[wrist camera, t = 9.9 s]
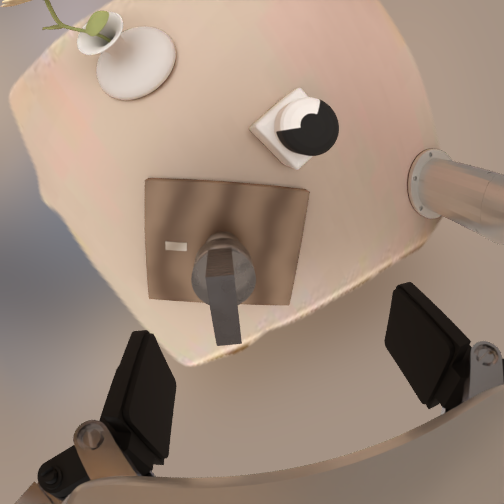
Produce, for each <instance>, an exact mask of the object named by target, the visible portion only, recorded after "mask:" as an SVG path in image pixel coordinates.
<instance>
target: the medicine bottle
mask: <svg viewBox="0 0 504 504" xmlns="http://www.w3.org/2000/svg"><path fill="white" fill-rule="evenodd" d="M249 130H250V131H251V132H252V133H253V134H254V135H255V136H256V137H257V138H258V139H259V140H260V141H261V142H262V143H263V144H264V145H265V146H266V147H267V148H268V149H269V150H270V151H271V152H272V153H273V154H274V155H275V156H276V157H277V158H278V159H279V161H280V162H281V163H282V164H284V165H286V166H289V167H291V168H294V169H296V170H298V169H300V168H301V167H302V166H303V165H304V164H305V163H306V162H307V161H308V160H309V159H310V158H311V157H312V156H316V155H320V154H323V153H325V152H327V151H328V150H329V149H330V148H331V147H332V146H333V145H334V143H335V142H336V140H337V137H338V133H339V124H338V120H337V117H336V115H335V113H334V111H333V110H332V108H331V107H330V106H329V105H328V104H326V103H325V102H323V101H322V100H320V99H317V98H313V97H309V96H308V95H307V94H306V93H305V92H304V91H303V90H302V89H301V88H296V89H295V90H293V91H292V92H290V93H289V94H287V95H286V96H284V97H283V98H282V99H281V100H280V101H278V102H277V103H276V104H275V105H274V106H273V107H272V108H270V109H269V110H268V111H267V112H266V113H265V114H264V115H263V116H261V117H260V118H259V119H258V120H257V121H256V122H255V123H254V124H253V125H251V126H250V128H249Z"/></svg>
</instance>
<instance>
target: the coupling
mask: <svg viewBox="0 0 504 504" xmlns="http://www.w3.org/2000/svg"><path fill="white" fill-rule="evenodd" d="M191 283H192V287H193V290H194V292H195V294H196V295H197V296H198V298H199V299H201V300H202V301H203V302H204V303H206V304H208V305H210V310H211V316H212V321H213V327H214V332H215V338H216V343H217V346H221V345H232V344H242V342H241V333H240V324H239V315H238V306H237V305H239V304H241V303H243V302H244V301H245V300H247V299H248V298H249V296H250V295H251V294H252V292H253V290H254V288H255V284H256V275H255V271H254V267H253V263H252V259H251V255H250V253H249V251H248V250H247V249H246V247H245V246H244V245H242V244H241V243H240V242H238V241H236V240H233V239H230V238H217V239H213V240H211V241H208V242H207V243H205V244H204V245H203V246H202V247H201V248H200V249H199V250H198V252H197V254H196V257H195V261H194V266H193V271H192V276H191Z"/></svg>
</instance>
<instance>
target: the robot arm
mask: <svg viewBox="0 0 504 504" xmlns="http://www.w3.org/2000/svg"><path fill="white" fill-rule="evenodd" d="M408 193H409V198H410V201H411V204H412V206H413V207H414V209H415V210H416V211H417V213H419V214H420V215H422V216H424V217H426V218H429V219H435V218H438V217H440V216H444V217H446V218H448V219H450V220H452V221H454V222H456V223H458V224H460V225H462V226H464V227H466V228H468V229H470V230H472V231H474V232H476V233H478V234H479V235H481V236H483V237H485V238H487V239H488V240H490V241H492V242H494V243H497V244H502V245H504V175H503V174H500V173H496V172H493V171H489V170H485V169H482V168H478V167H474V166H471V165H466V164H462V163H458V162H454V161H452V160H451V158H450V157H449V156H448V155H447V154H446V153H445V152H443V151H442V150H439V149H427V150H425V151H423V152H422V153H420V154H419V155H418V156H417V158H416V159H415V160H414V162H413V164H412V166H411V169H410V173H409V177H408ZM470 342H471V341H470V340H469V339H468V338H467V337H466V336H465V335H464V334H463V333H462V331H461V330H460V329H459V328H458V327H457V326H456V325H455V324H454V323H453V322H452V321H451V320H450V319H449V318H448V317H447V316H446V315H445V314H444V313H443V312H442V311H441V310H440V309H439V308H438V307H437V306H436V305H435V304H433V302H432V301H431V300H430V299H429V298H427V297H426V296H425V295H424V294H423V293H422V292H421V291H420V290H419V289H418V288H417V287H416V286H415V285H413V283H411V282H407V283H404V284H400V285H398V286H397V287H396V289H395V290H394V291H393V296H392V302H391V308H390V314H389V320H388V325H387V331H386V336H385V346H386V348H387V350H388V351H389V353H390V354H391V356H392V357H393V359H394V360H395V362H396V363H397V365H398V366H399V368H400V369H401V371H402V372H403V374H404V376H405V377H406V379H407V380H408V382H409V383H410V385H411V387H412V388H413V390H414V392H415V393H416V395H417V396H418V398H419V400H420V401H421V402H422V404H426V405H427V407H428V409H430V408H432V407H434V406H436V405H438V404H439V403H440V404H441V406H442V411H441V415H440V416H438V417H436V418H434V419H433V420H431V421H429V422H427V423H425V424H423V425H421V426H419V427H416V428H415V429H412V430H410V431H408V432H406V433H403V434H401V435H399V436H397V437H394V438H392V439H389V440H387V441H384V442H382V443H379V444H377V445H374V446H371V447H368V448H365V449H362V450H360V451H356V452H354V453H350V454H347V455H344V456H340V457H337V458H333V459H330V460H326V461H322V462H318V463H314V464H309V465H305V466H300V467H295V468H290V469H285V470H279V471H273V472H266V473H259V474H250V475H240V476H228V477H207V478H171V477H170V478H169V477H156V476H155V475H154V473H153V472H152V469H153V464H156V465H164V458H167V457H168V455H169V444H170V435H171V426H172V417H173V408H174V401H175V393H176V381H175V378H174V376H173V375H172V372H171V370H170V368H169V366H168V364H167V362H166V360H165V358H164V356H163V354H162V352H161V350H160V347H159V345H158V343H157V340H156V338H155V336H154V334H150V333H149V332H148V331H147V330H143V331H134V332H132V334H131V337H130V339H129V341H128V344H127V347H126V349H125V352H124V355H123V357H122V360H121V363H120V365H119V367H118V368H117V370H116V373H115V376H114V379H113V381H112V384H111V387H110V390H109V393H108V396H107V399H106V402H105V405H104V408H103V411H102V414H101V418H100V421H97V420H89V421H86V422H84V423H82V424H81V425H79V427H78V428H77V429H76V431H75V433H74V437H73V441H74V445H73V446H72V447H70V448H68V449H67V450H65V451H64V452H62V453H60V454H59V455H57V456H55V457H54V458H52V459H50V460H48V461H47V462H45V463H44V464H43V465H42V466H41V467H40V469H39V471H38V483H36V482H33V483H32V485H31V486H30V487H29V488H28V489H27V490H26V491H25V492H24V494H23V495H22V496H21V497H20V498H19V499H18V500H17V501H16V503H15V504H504V359H502V356H501V352H500V350H499V349H498V348H497V347H496V346H495V345H494V344H492V343H490V342H486V341H481V342H477V343H476V344H475V345H473V347H471V346H470V345H469V344H470Z"/></svg>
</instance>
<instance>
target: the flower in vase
mask: <svg viewBox="0 0 504 504" xmlns="http://www.w3.org/2000/svg"><path fill="white" fill-rule="evenodd" d="M28 1H31V0H4V1H3V2H2V3H6V4H4V5H2V6H1V7H8V6H15V5H18V4H21V3H24V2H28ZM45 3H46V5H47V7H48V9H49V11H50V13H51V15H52V17H53V19H54V20H55V21H56V23H57V24H58V25H53V26H50V27H43V30H44V29H61V28H66V29H70V30H74V31H78V32H80V33H79V35H78V39H77V46H78V49H79V51H80V52H81V53H83V54H86V55H95V54H99V53H101V52H102V53H101V54H100V57H99V59H98V63H97V68H96V73H97V79H98V82H99V85H100V87H101V88H102V90H103V91H104V92H105V93H106V94H108V95H109V96H111V97H113V98H116V99H120V100H133V99H137V98H140V97H143V96H145V95H148V94H149V93H151V92H153V91H154V90H155V89H157V88H158V87H159V86H160V85H161V84H162V83H163V82H164V81H165V80H166V79H167V77H168V76H169V74H170V73H171V71H172V69H173V66H174V63H175V58H176V50H175V45H174V43H173V41H172V39H171V38H170V36H169V35H168V34H167V33H165V32H164V31H162V30H160V29H158V28H154V27H147V26H140V27H135V28H131V29H128V30H126V31H124V32H122V30H123V20H122V17H121V16H120V15H119V14H117V13H115V12H107V11H97V12H95V13H94V14H93V15H92V16H91V17H90V19H89V21H88V22H87V23H86V24H85V25H84V26H83V28H82V29H80V28H75V27H71V26H68V25H65V24H63V23H62V22H61V21H60V20H59V19H58V17H57V15H56V14H55V12H54V10H53V8H52V6H51V4H50V1H49V0H45Z"/></svg>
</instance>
